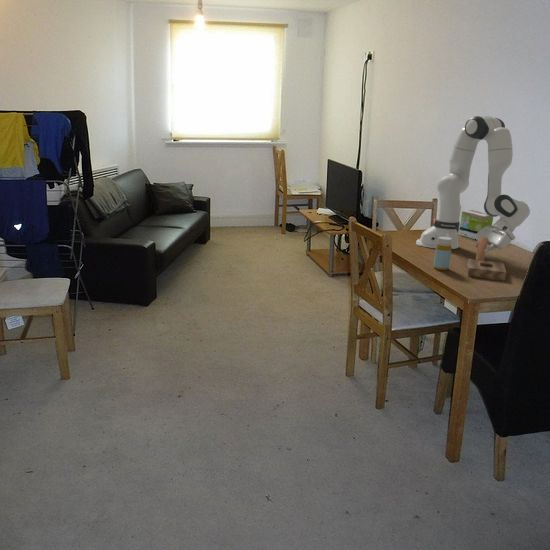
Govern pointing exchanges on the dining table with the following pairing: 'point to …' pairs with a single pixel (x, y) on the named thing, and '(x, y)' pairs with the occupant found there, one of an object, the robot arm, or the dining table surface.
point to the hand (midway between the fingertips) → (480, 249)
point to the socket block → (486, 269)
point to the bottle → (442, 253)
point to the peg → (481, 248)
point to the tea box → (473, 223)
